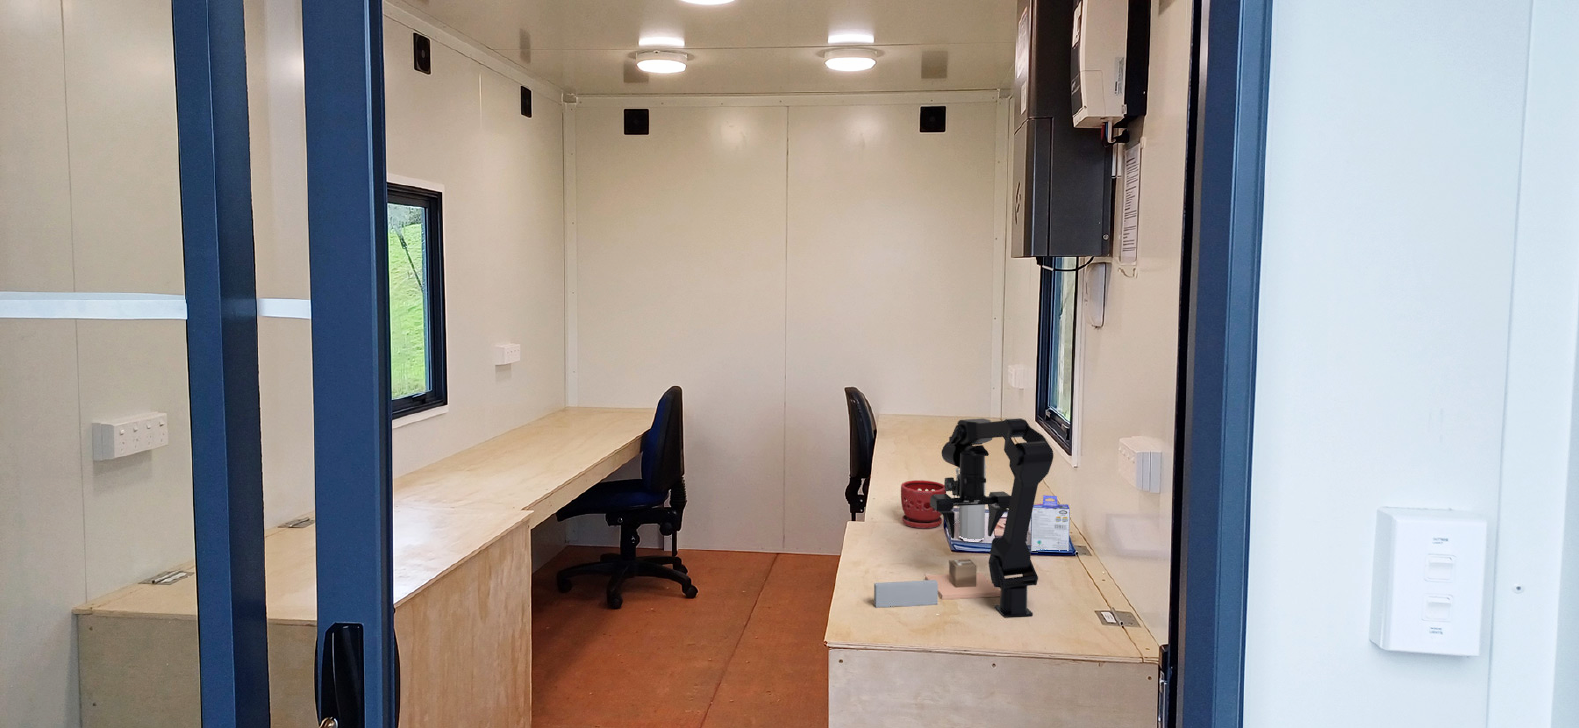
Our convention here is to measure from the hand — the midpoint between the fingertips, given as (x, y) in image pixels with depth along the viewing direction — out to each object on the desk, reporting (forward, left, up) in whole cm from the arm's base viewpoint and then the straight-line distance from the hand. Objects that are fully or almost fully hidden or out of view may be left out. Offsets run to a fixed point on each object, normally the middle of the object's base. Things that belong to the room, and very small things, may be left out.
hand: (970, 537), depth 227 cm
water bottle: (+36, -11, -12) cm, 39 cm away
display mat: (-2, +3, -12) cm, 12 cm away
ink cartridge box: (+23, -29, -12) cm, 39 cm away
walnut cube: (-2, +3, -11) cm, 11 cm away
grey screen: (-11, +19, -12) cm, 25 cm away
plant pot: (+53, -3, -12) cm, 54 cm away
